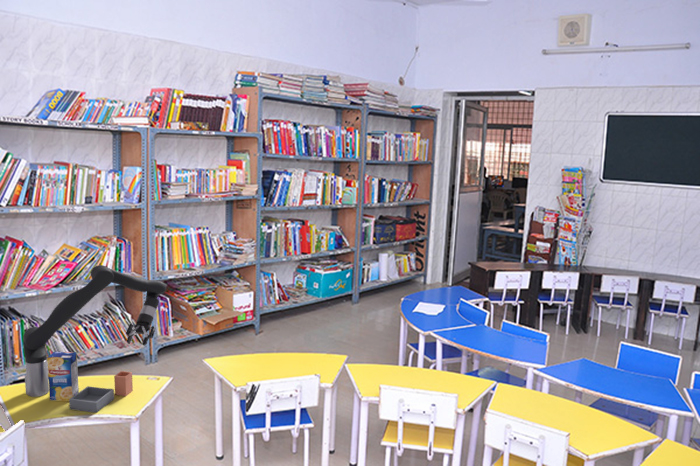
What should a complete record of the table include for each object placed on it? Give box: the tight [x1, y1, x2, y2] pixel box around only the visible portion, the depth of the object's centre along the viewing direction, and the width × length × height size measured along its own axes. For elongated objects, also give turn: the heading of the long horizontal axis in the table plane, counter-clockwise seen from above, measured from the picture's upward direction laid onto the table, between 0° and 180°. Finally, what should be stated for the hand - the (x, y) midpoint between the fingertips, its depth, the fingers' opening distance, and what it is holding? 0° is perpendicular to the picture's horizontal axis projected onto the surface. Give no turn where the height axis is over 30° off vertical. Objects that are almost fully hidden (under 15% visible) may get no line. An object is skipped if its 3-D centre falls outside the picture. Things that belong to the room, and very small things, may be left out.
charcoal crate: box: [68, 385, 115, 414], centre depth 271 cm, size 14×14×5 cm
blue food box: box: [47, 351, 80, 402], centre depth 275 cm, size 7×11×22 cm, turn 92°
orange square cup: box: [113, 370, 134, 397], centre depth 283 cm, size 6×6×10 cm
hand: (135, 344), depth 292 cm, fingers open, 8 cm apart
